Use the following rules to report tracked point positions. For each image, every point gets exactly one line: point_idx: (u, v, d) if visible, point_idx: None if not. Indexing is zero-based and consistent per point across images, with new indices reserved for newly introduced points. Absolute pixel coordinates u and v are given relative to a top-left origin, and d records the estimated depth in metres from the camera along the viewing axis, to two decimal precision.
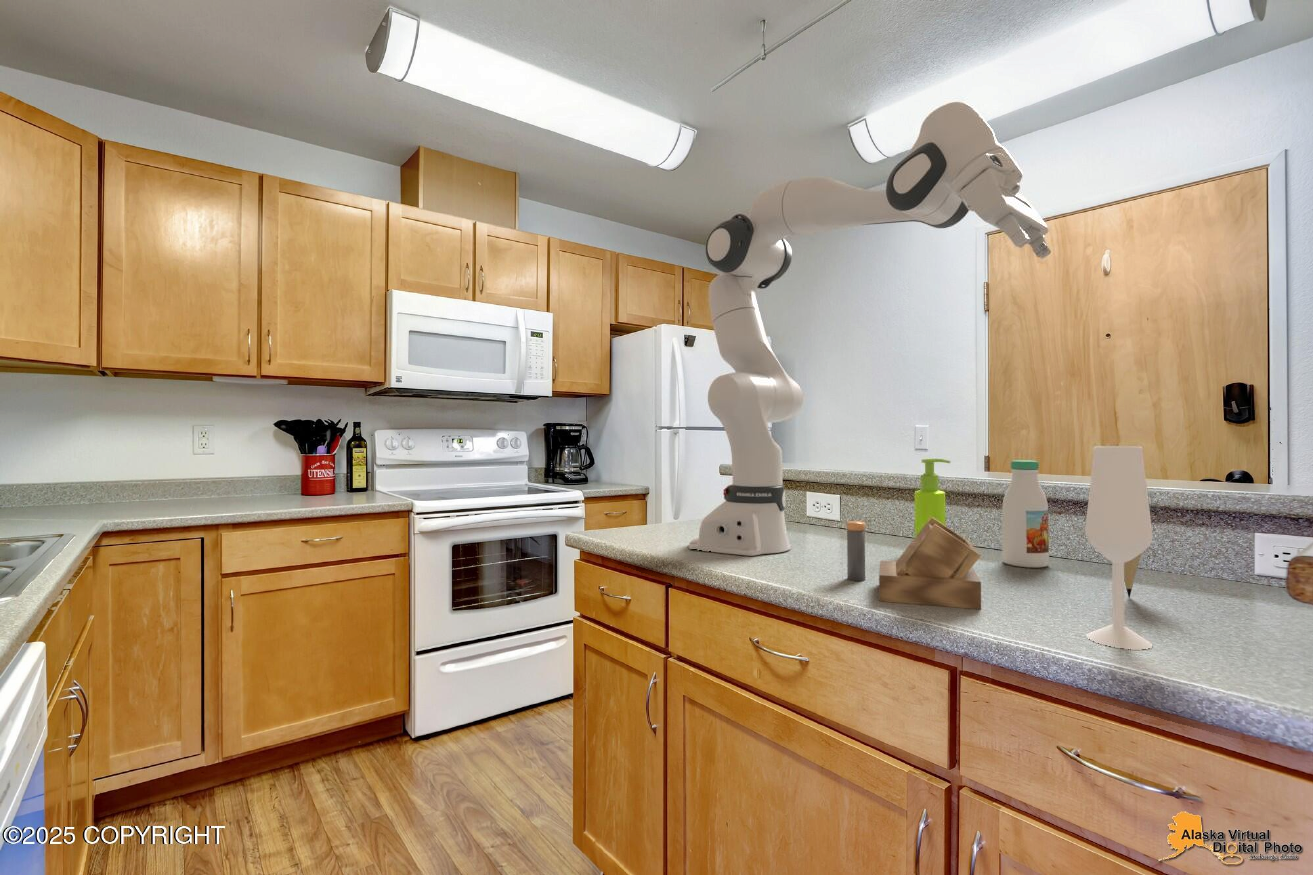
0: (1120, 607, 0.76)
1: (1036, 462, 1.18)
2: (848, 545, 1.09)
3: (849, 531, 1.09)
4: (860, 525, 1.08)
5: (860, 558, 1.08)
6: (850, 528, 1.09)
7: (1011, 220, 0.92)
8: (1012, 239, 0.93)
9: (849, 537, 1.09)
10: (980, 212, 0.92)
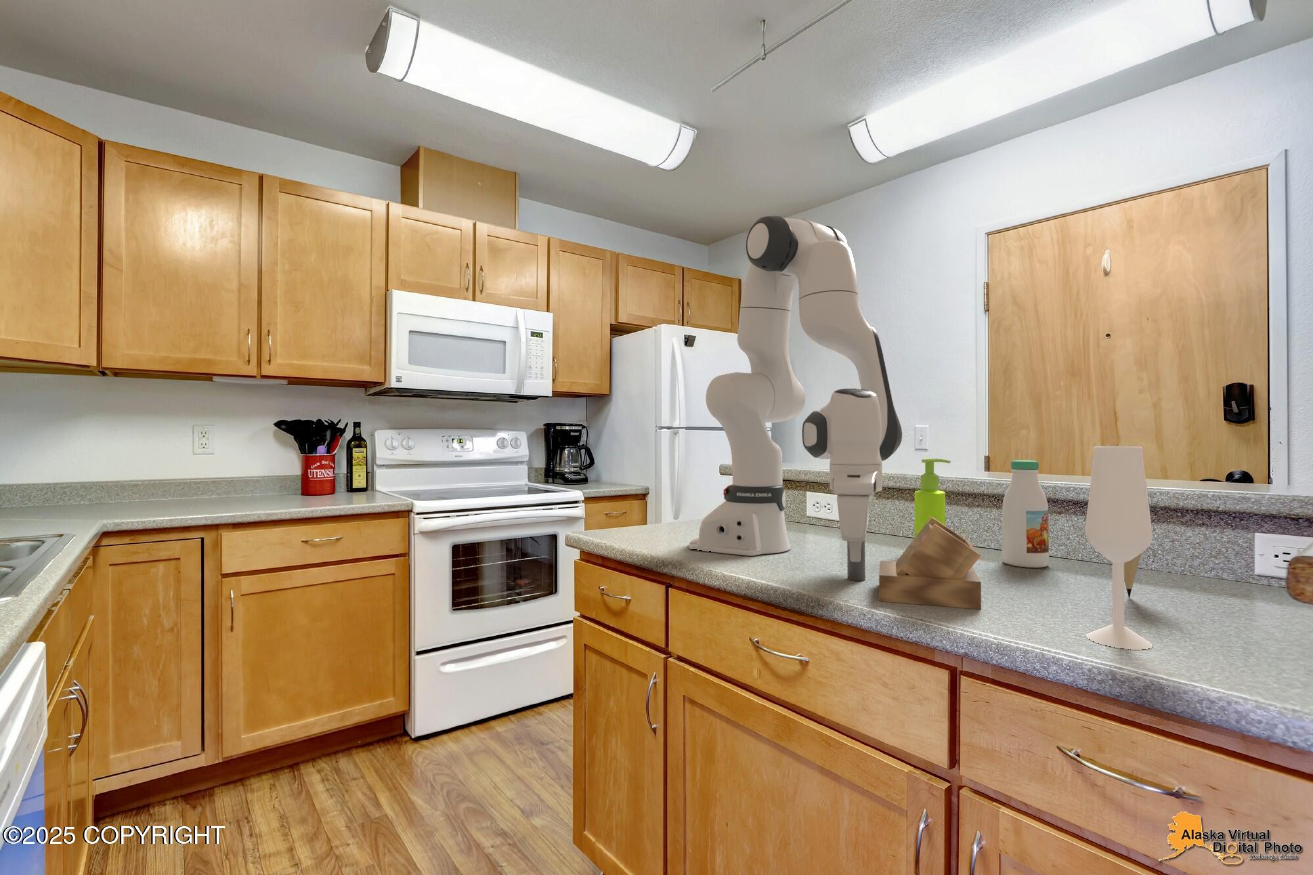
0: (1120, 607, 0.76)
1: (1036, 462, 1.18)
2: (848, 545, 1.09)
3: None
4: None
5: None
6: None
7: (859, 542, 1.06)
8: (851, 553, 1.07)
9: None
10: (844, 533, 1.01)
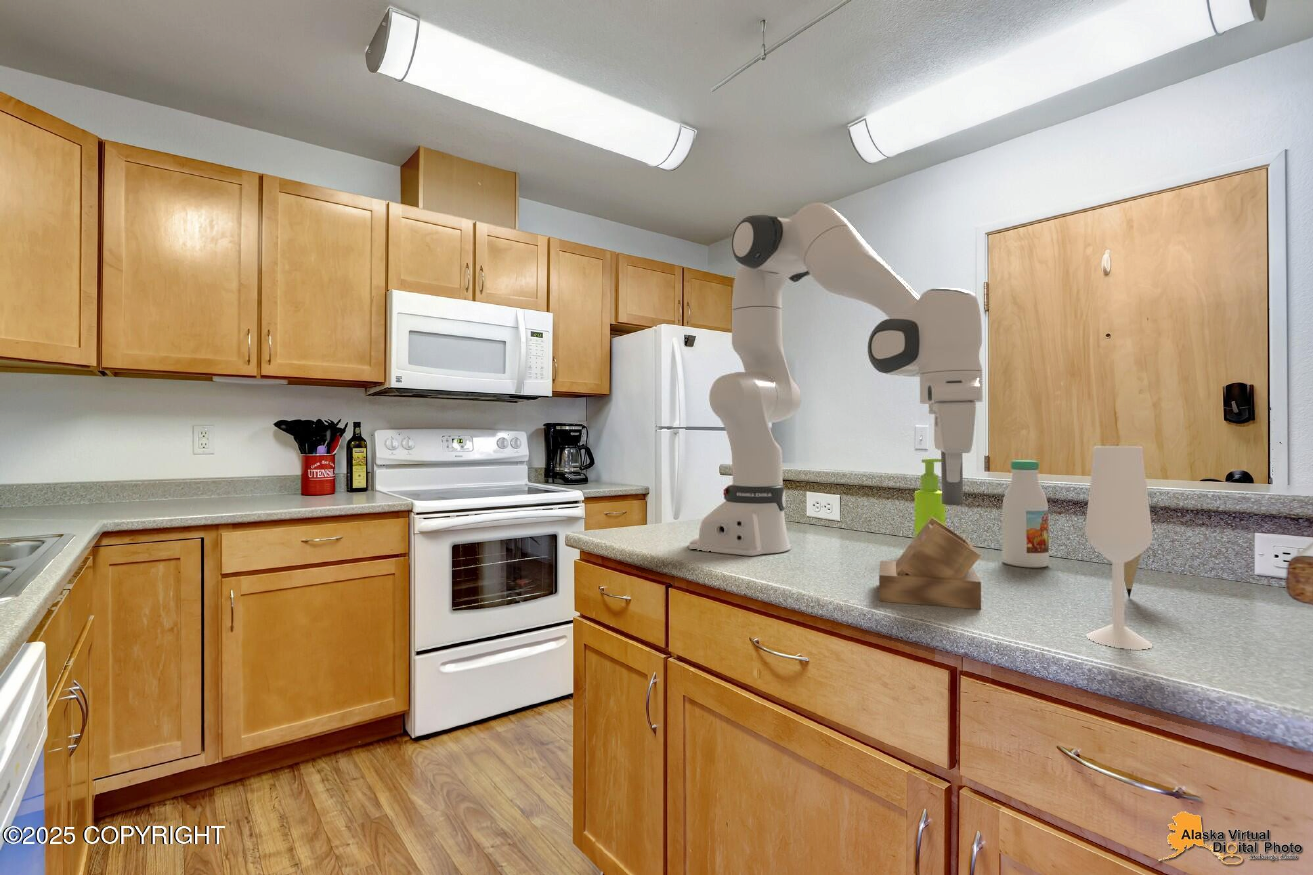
0: (1120, 607, 0.76)
1: (1036, 462, 1.18)
2: (943, 465, 0.97)
3: None
4: None
5: None
6: None
7: (959, 459, 0.93)
8: (948, 473, 0.94)
9: None
10: (947, 444, 0.88)
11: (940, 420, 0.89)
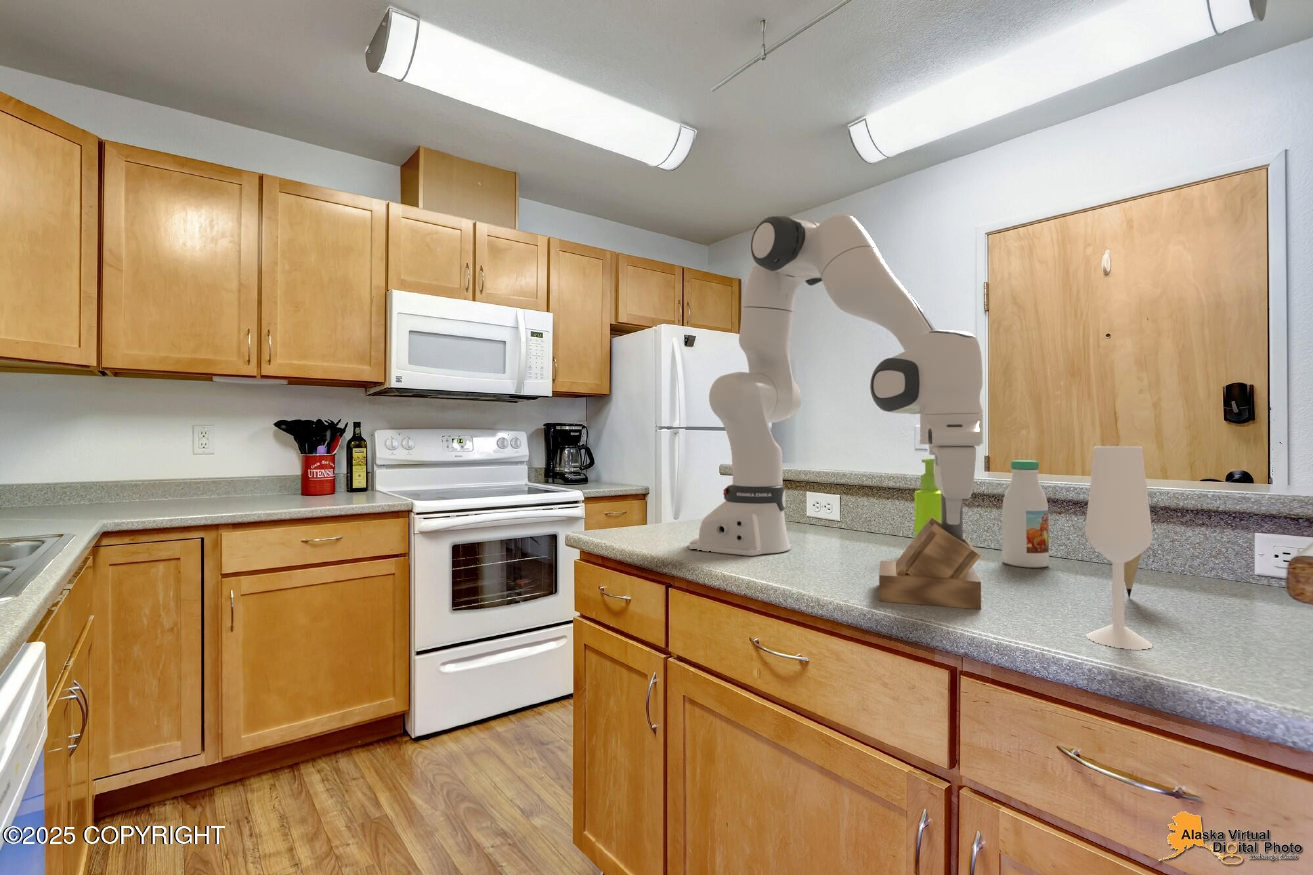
0: (1120, 607, 0.76)
1: (1036, 462, 1.18)
2: (943, 507, 0.97)
3: None
4: None
5: None
6: None
7: (959, 502, 0.93)
8: (948, 515, 0.94)
9: None
10: (947, 489, 0.88)
11: (940, 465, 0.89)
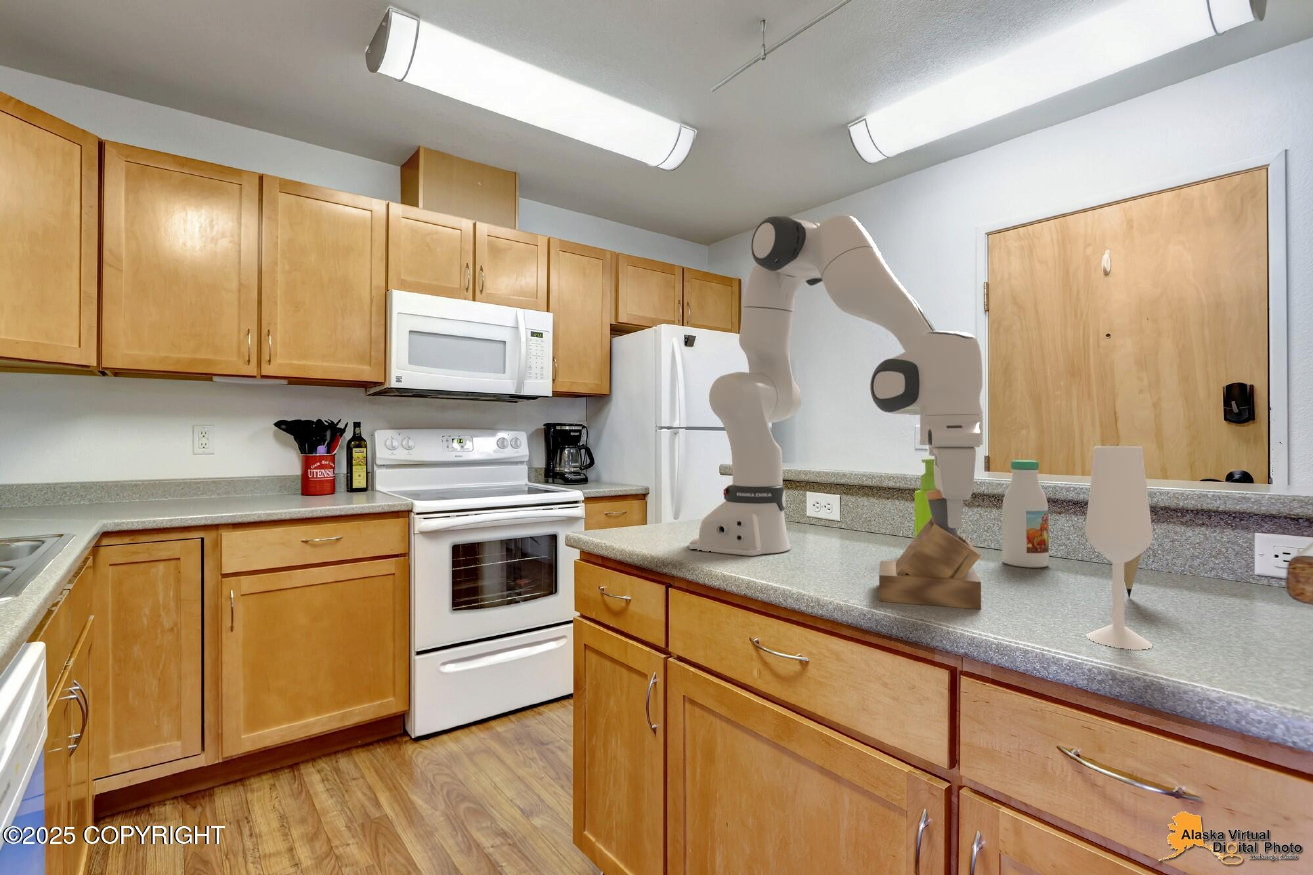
0: (1120, 607, 0.76)
1: (1036, 462, 1.18)
2: (934, 517, 0.97)
3: (931, 501, 0.97)
4: None
5: (951, 528, 0.96)
6: (932, 497, 0.97)
7: (960, 505, 0.91)
8: (949, 518, 0.92)
9: (933, 508, 0.97)
10: (947, 490, 0.88)
11: (940, 466, 0.89)
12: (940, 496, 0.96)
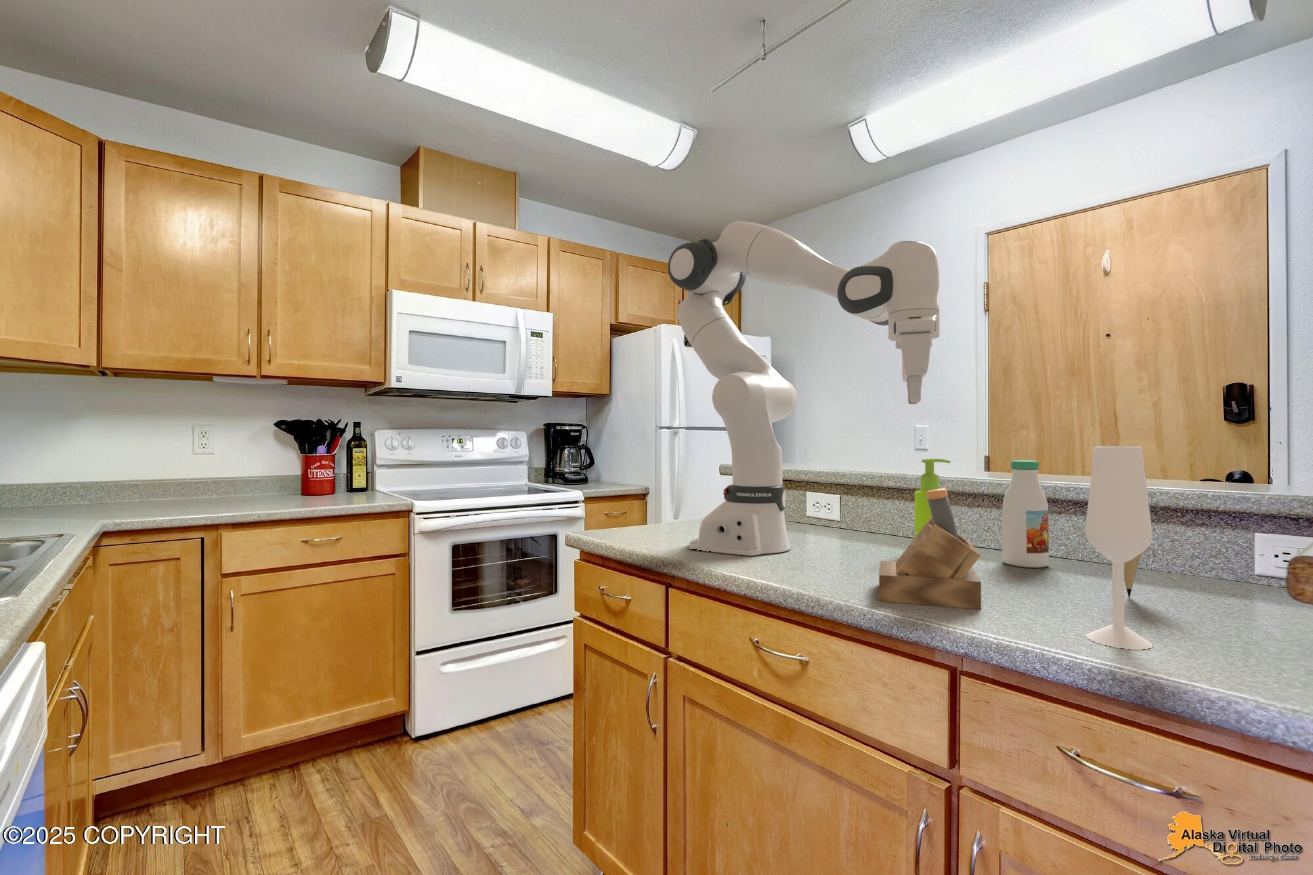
0: (1120, 607, 0.76)
1: (1036, 462, 1.18)
2: (934, 517, 0.97)
3: (931, 501, 0.97)
4: (942, 491, 0.96)
5: (951, 528, 0.96)
6: (932, 497, 0.97)
7: (919, 381, 1.10)
8: (911, 394, 1.11)
9: (933, 508, 0.97)
10: (907, 366, 1.07)
11: (902, 347, 1.08)
12: (940, 496, 0.96)
